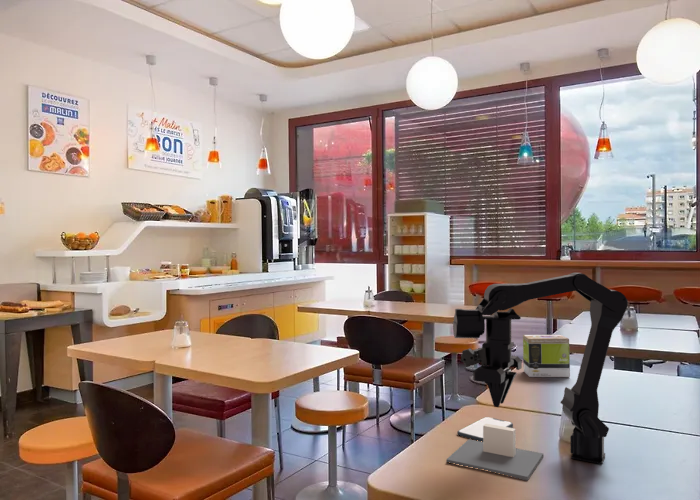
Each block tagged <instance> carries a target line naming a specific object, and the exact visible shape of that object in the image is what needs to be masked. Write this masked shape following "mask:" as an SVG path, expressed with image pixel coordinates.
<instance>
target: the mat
mask: <svg viewBox="0 0 700 500" xmlns="http://www.w3.org/2000/svg"><path fill="white" fill-rule="evenodd" d="M543 458H544V452H538V451H532V450H527V449H522V448H518V447H517V448H516V455H515V456H514V457H509V456H504V455H499V454H494V453H489V452H484V451H483V442H481V441H476V440H472V439H468V438H467V440H466V441H465V442H464V443H463V444H461V446H459V447H458V448H457V450H455V451H454V452H453V453H451V455H449V456H448V457H447V458H446V459H445V461H446V462H450V463H455V464H459V465H463V466H468V467H473V468H478V469H484V470H488V471H491V472H496V473H500V474H504V475H508V476H507V477H509V476H512V477H511V478H513V477H515V478H514V479H518V478H519V480H523V481H529V479H530V478H531V476H532V475H533V474H534V472H535V470H536V468H537V467H538V465H540V463H541V461H542V460H543ZM463 466H462V467H463ZM504 475H503V476H504Z"/></svg>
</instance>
